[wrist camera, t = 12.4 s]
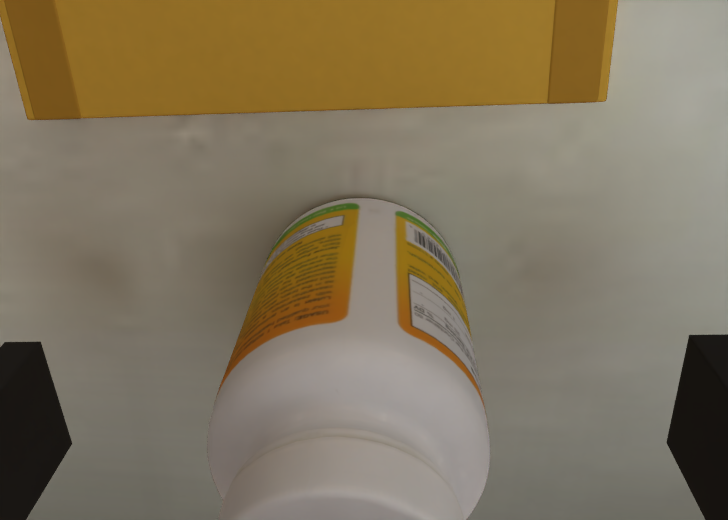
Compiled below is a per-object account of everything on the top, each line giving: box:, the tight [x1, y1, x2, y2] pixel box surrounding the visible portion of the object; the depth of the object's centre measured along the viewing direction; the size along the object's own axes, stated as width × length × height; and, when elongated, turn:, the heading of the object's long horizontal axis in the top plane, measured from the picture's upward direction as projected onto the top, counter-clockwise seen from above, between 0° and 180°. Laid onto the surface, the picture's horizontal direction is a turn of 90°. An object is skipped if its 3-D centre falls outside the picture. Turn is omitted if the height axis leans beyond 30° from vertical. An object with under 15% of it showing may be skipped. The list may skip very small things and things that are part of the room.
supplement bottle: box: [207, 198, 490, 520], centre depth 15 cm, size 5×5×10 cm
